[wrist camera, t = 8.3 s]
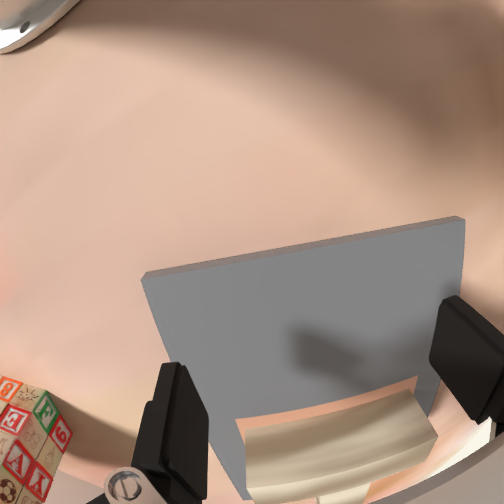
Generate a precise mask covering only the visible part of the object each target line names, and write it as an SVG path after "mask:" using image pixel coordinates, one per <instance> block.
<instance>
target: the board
mask: <svg viewBox="0 0 504 504" xmlns="http://www.w3.org/2000/svg"><path fill="white" fill-rule="evenodd" d="M464 243H465V219H462V218H460V217H457V216H452V217H447V218H441V219H436V220H430V221H425V222H420V223H414V224H409V225H403V226H398V227H392V228H387V229H381V230H376V231H370V232H365V233H359V234H354V235H348V236H343V237H338V238H332V239H327V240H321V241H316V242H310V243H305V244H299V245H294V246H288V247H283V248H277V249H272V250H266V251H261V252H255V253H250V254H244V255H239V256H233V257H228V258H222V259H216V260H211V261H205V262H200V263H194V264H189V265H183V266H178V267H172V268H167V269H161V270H156V271H150V272H146V273H145V275H144V276H143V277H142V279H141V282H142V285H143V288H144V291H145V294H146V297H147V300H148V303H149V306H150V309H151V312H152V314H153V317H154V320H155V323H156V325H157V328H158V331H159V333H160V336H161V338H162V341H163V344H164V346H165V349H166V351H167V353H168V356H169V358H170V361H171V362H179V363H180V364H181V365H185V366H186V367H187V369H188V371H189V374H190V376H191V378H192V380H193V383H194V385H195V387H196V389H197V391H198V393H199V396H200V398H201V400H202V402H203V404H204V406H205V408H206V410H207V413H208V416H209V437H208V441H209V443H210V445H211V447H212V449H213V450H214V452H215V454H216V456H217V458H218V459H219V461H220V463H221V465H222V466H223V468H224V470H225V471H226V473H227V475H228V477H229V478H230V480H231V482H232V483H233V485H234V486H235V488H236V490H237V491H238V493H239V494H240V496H241V498H242V499H243V500H253V499H252V497H251V495H250V494H249V492H248V490H247V488H246V460H245V429H244V428H251V427H259V426H266V425H272V424H278V423H284V422H290V421H295V420H300V419H305V418H310V417H314V416H319V415H323V414H327V413H332V412H336V411H339V410H343V409H347V408H351V407H354V406H358V405H361V404H364V403H368V402H371V401H374V400H377V399H380V398H383V397H386V396H389V395H392V394H395V393H398V392H401V391H403V390H406V389H410V391H411V393H412V394H413V396H414V397H415V399H416V400H417V402H418V404H419V405H420V407H421V408H422V410H423V412H424V413H425V415H426V417H427V418H428V415H429V413H430V410H431V407H432V404H433V401H434V398H435V396H436V392H437V389H438V386H439V383H440V380H441V378H440V376H439V375H438V374H437V372H436V371H435V370H434V369H433V367H432V366H431V365H430V362H429V353H430V349H431V345H432V340H433V335H434V330H435V325H436V320H437V314H438V309H439V305H440V304H441V302H442V300H443V299H445V298H448V297H450V296H453V295H457V296H459V293H460V286H461V278H462V268H463V257H464Z"/></svg>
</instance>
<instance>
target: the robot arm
mask: <svg viewBox="0 0 504 504" xmlns="http://www.w3.org/2000/svg"><path fill="white" fill-rule="evenodd" d="M79 1H80V0H0V54H2V53H7V52H11V51H13V50H15V49H17V48H19V47H22V46H23V45H25V44H26V43H28V42H30V41H31V40H33V39H35V38H36V37H37V36H39V35H40V34H41V33H43V32H44V31H45V30H47V29H48V28H49V27H51V26H52V25H53V24H54V23H55V22H57V21H58V20H59V19H60V18H61V17H62V16H64V15H65V14H66V13H67V12H68V11H69V10H70V9H71V8H72V7H73V6H74V5H75V4H76V3H78V2H79ZM429 362H430V365H431V366H432V367H433V369H434V370H435V371H436V372H437V374H438V375H439V376H440V378H441V379H442V380H443V382H444V383H445V384H446V386H447V387H448V388H449V390H450V391H451V392H452V394H453V395H454V396H455V398H456V399H457V401H458V402H459V403H460V405H461V406H462V408H463V409H464V410H465V412H466V413H467V415H468V416H469V417H470V419H471V420H475V421H476V423H477V424H478V425H479V424H481V423H482V422H484V421H485V420H487V419H488V417H489V416H490V418H491V419H492V423H491V432H490V440H489V443H487V444H486V445H484V446H483V447H482V448H480V449H479V450H477V451H476V452H474V453H472V454H471V455H469V456H468V457H466V458H464V459H463V460H461V461H460V462H458V463H456V464H455V465H452V466H451V467H449V468H447V469H445V470H444V471H442V472H440V473H438V474H436V475H434V476H432V477H430V478H428V479H426V480H424V481H422V482H420V483H418V484H416V485H414V486H411V487H409V488H407V489H405V490H402V491H400V492H398V493H395V494H393V495H390V496H388V497H385V498H382V499H380V500H377V501H374V502H371V503H369V504H504V335H503V334H502V333H501V332H500V331H499V330H498V329H496V328H495V327H494V326H493V325H492V324H491V323H490V322H488V321H487V320H486V319H485V318H484V317H483V316H482V315H480V314H479V313H478V312H477V311H476V310H474V309H473V308H472V307H471V306H470V305H468V304H467V303H466V302H465V301H464V300H462V299H461V298H460V297H459V296H457V295H453V296H450V297H448V298H445V299H443V300H442V302H441V304H440V305H439V309H438V314H437V320H436V325H435V330H434V335H433V340H432V345H431V349H430V353H429ZM208 437H209V416H208V413H207V410H206V408H205V406H204V404H203V402H202V400H201V398H200V396H199V393H198V391H197V389H196V387H195V385H194V383H193V380H192V378H191V376H190V374H189V371H188V369H187V367H186V366H185V365H181V364H180V363H179V362H170V363H163V364H162V365H161V368H160V372H159V376H158V380H157V384H156V388H155V392H154V396H153V400H152V401H148V402H147V403H146V405H145V408H144V412H143V416H142V420H141V424H140V429H139V433H138V437H137V441H136V446H135V450H134V454H133V459H132V464H131V467H120V468H118V469H115V470H114V471H112V472H111V473H110V474H109V475H108V476H107V478H106V479H105V482H104V492H105V493H103V494H102V495H100V496H98V497H97V498H95V499H93V500H92V501H90V502H88V503H86V504H202V500H205V499H206V498H207V472H208Z"/></svg>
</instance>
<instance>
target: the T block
mask: <svg viewBox="0 0 504 504" xmlns="http://www.w3.org/2000/svg"><path fill="white" fill-rule="evenodd" d="M244 429H245V460H246V488H247V490H248V492H249V494H250V495H251V497H252V499H253V501H254V502H255V504H279V503H286V502H293V501H298V500H304V499H309V498H314V497H315V501H316V504H363V502H364V499H365V497H366V494H367V491H368V489H369V486H370V483H371V482H374V481H377V480H380V479H383V478H385V477H388V476H391V475H393V474H396V473H399V472H401V471H404V470H406V469H408V468H411V467H413V466H416V465H418V464H420V463H422V462H424V461H426V459H427V457H428V455H429V453H430V451H431V450H432V448H433V446H434V444H435V442H436V440H437V438H438V435H437V433H436V431H435V430H434V428H433V426H432V425H431V423H430V421H429V420H428V418H427V417H426V415H425V413H424V412H423V410H422V408H421V407H420V405H419V404H418V402H417V400H416V399H415V397H414V396H413V394H412V393H411V391H410V389H406V390H403V391H401V392H398V393H395V394H392V395H389V396H386V397H383V398H380V399H377V400H374V401H371V402H368V403H364V404H361V405H358V406H354V407H351V408H347V409H343V410H339V411H336V412H332V413H327V414H323V415H319V416H314V417H310V418H305V419H300V420H295V421H290V422H284V423H278V424H272V425H266V426H259V427H251V428H244Z"/></svg>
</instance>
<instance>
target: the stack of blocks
mask: <svg viewBox="0 0 504 504" xmlns="http://www.w3.org/2000/svg"><path fill="white" fill-rule="evenodd" d="M72 434H73V433H72V432H71V430H70V429H69V427H68V426H67V424H66V423H65V421H64V419H63V418H62V416H61V415H60V413H59V412H58V410H57V408H56V407H55V405H54V403H53V402H52V400H51V398H50V396H49V394H48V393H47V391H46V390H45V389H41V388H38V387H34V386H31V385H27V384H24V383H22V382H19V381H16V380H13V379H10V378H7V377H3V376H1V375H0V504H42V503H44V502H45V500H46V498H47V495H48V492H49V490H50V487H51V484H52V482H53V477H54V475H55V473H56V470H57V468H58V465H59V463H60V461H61V458H62V455H63V454H64V452H65V450H66V448H67V445H68V443H69V441H70V439H71V437H72Z"/></svg>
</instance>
